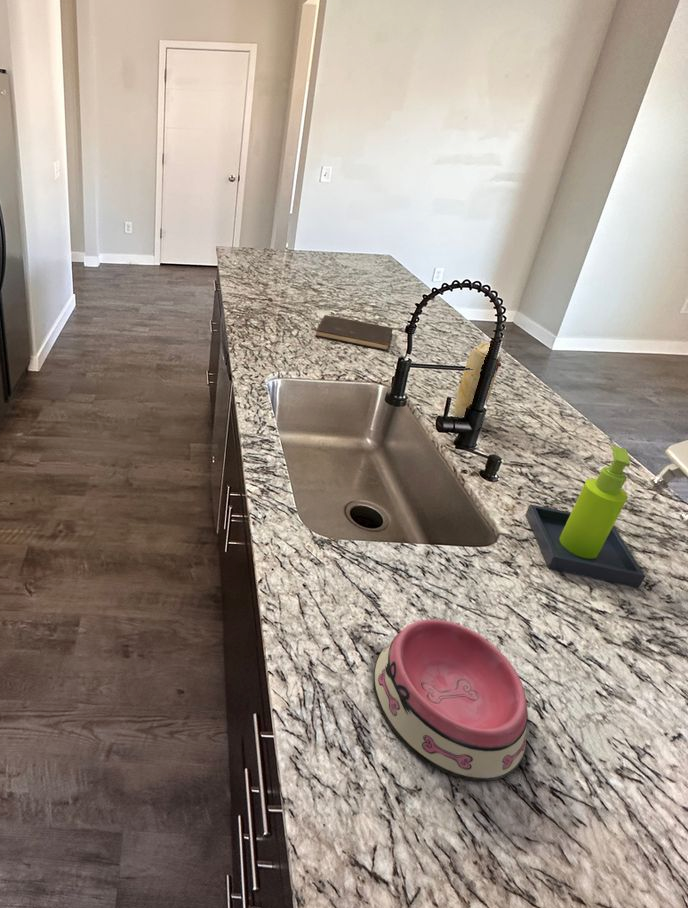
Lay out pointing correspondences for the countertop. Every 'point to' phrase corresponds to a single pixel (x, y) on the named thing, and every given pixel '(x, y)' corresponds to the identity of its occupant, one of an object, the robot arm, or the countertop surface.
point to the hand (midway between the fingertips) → (667, 502)
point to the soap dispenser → (596, 509)
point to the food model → (472, 379)
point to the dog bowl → (453, 700)
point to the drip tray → (606, 566)
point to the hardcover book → (354, 332)
